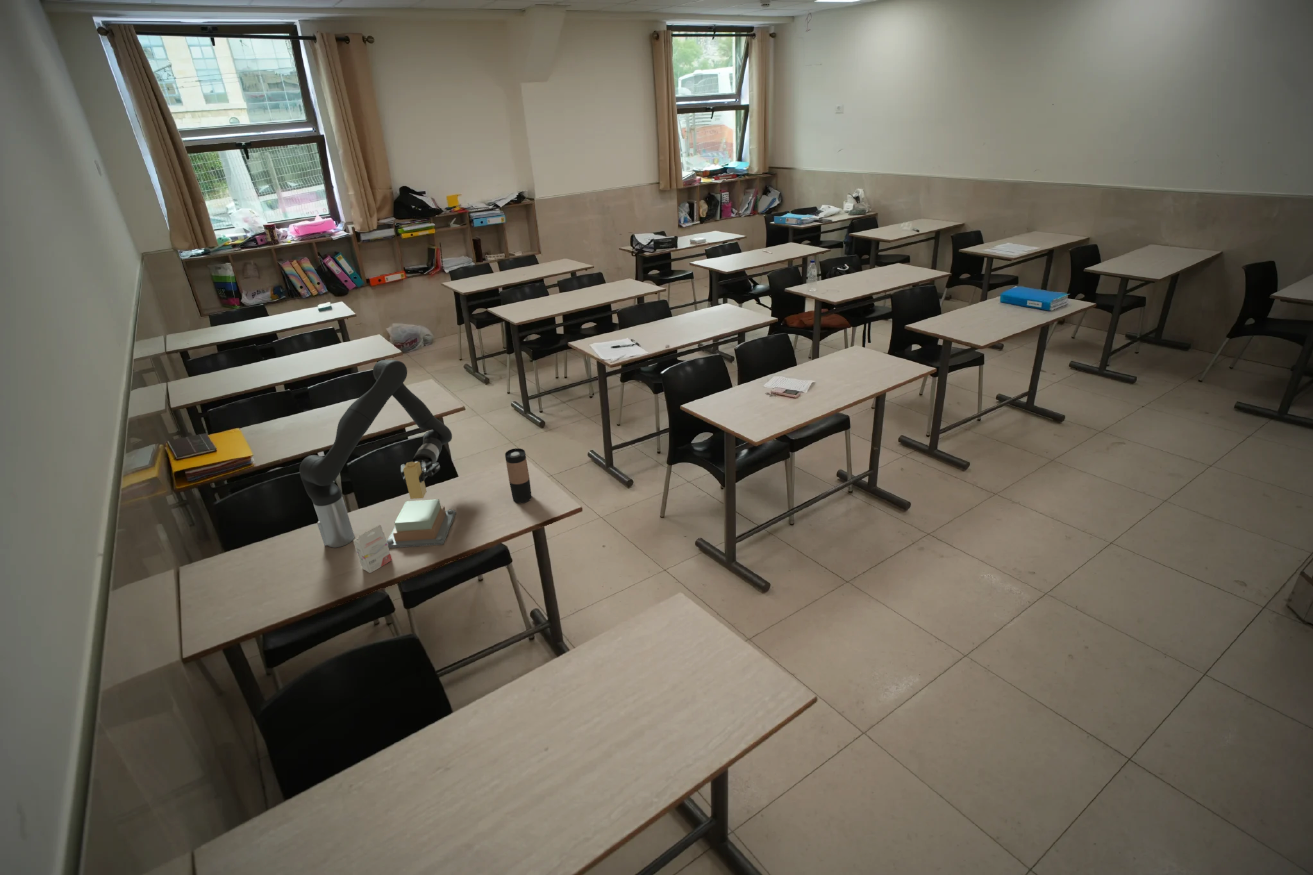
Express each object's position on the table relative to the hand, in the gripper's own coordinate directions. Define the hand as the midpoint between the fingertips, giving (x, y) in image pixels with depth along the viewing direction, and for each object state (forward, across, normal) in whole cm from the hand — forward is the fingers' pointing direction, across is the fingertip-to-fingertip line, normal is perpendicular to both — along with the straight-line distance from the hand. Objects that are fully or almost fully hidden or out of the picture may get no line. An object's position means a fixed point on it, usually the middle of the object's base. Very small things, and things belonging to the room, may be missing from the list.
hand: (412, 480), depth 225 cm
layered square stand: (-2, -2, +22) cm, 22 cm away
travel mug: (-20, +32, +22) cm, 43 cm away
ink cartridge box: (+17, -12, +22) cm, 30 cm away
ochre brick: (-2, 0, +7) cm, 7 cm away
